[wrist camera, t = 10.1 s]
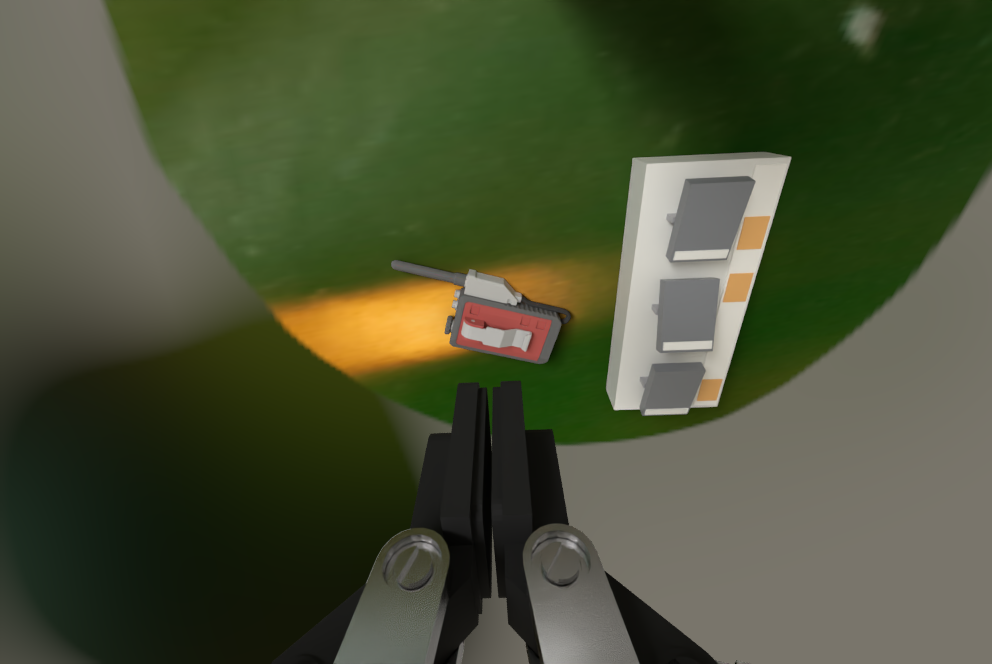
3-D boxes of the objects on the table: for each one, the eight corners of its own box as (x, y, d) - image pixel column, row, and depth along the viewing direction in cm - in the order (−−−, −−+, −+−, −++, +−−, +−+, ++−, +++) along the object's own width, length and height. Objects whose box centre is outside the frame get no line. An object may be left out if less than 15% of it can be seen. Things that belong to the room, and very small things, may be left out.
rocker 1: (685, 178, 32) (691, 184, 31) (748, 175, 32) (756, 181, 31) (665, 255, 37) (670, 263, 36) (720, 253, 37) (727, 261, 36)
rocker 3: (652, 363, 41) (656, 373, 40) (701, 362, 41) (706, 371, 40) (639, 407, 46) (642, 416, 45) (683, 405, 46) (687, 415, 45)
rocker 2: (660, 279, 38) (665, 281, 37) (713, 277, 38) (720, 279, 37) (655, 349, 40) (661, 353, 39) (706, 347, 40) (713, 351, 39)
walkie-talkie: (575, 292, 45) (395, 249, 42) (583, 310, 41) (385, 264, 38) (551, 356, 49) (386, 321, 46) (556, 377, 45) (376, 340, 43)
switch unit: (632, 157, 37) (652, 166, 33) (763, 151, 37) (802, 159, 32) (606, 389, 51) (617, 418, 46) (701, 385, 50) (723, 414, 46)
